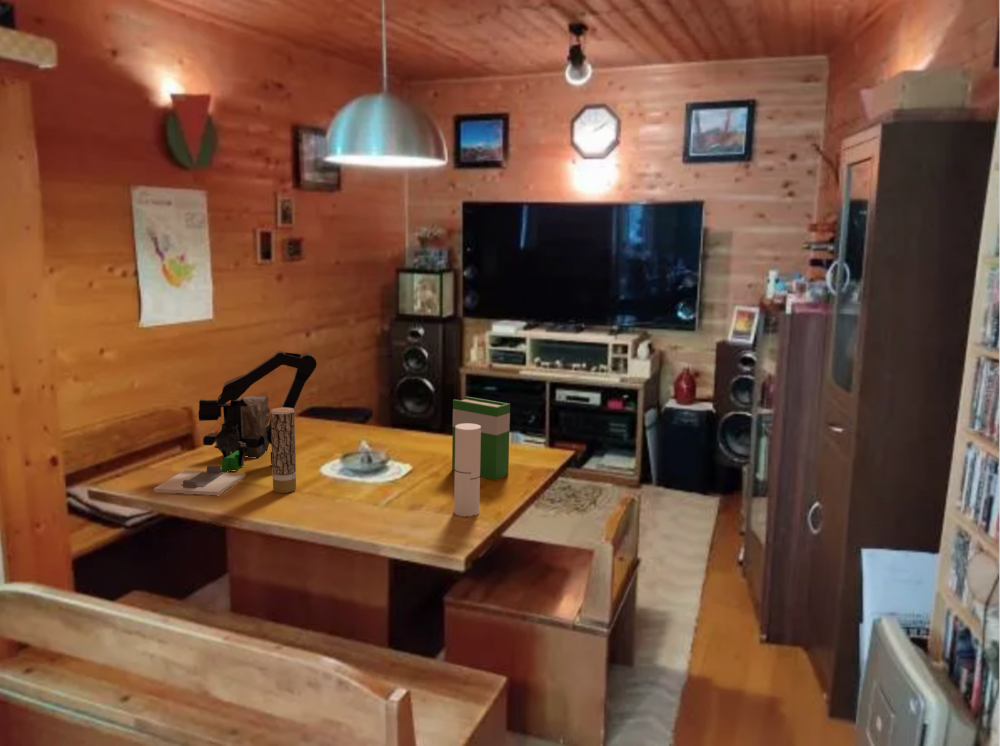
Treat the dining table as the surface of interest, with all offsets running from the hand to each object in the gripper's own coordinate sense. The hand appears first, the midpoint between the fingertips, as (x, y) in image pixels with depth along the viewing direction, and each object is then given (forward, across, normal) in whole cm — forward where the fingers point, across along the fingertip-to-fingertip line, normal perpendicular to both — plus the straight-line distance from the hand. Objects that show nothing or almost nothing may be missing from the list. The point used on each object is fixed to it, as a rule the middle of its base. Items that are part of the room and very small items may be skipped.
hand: (234, 465), depth 250 cm
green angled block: (+1, 0, 0) cm, 1 cm away
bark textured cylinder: (+1, +24, -18) cm, 30 cm away
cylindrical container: (+1, +81, -27) cm, 85 cm away
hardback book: (+1, +80, +10) cm, 81 cm away
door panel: (+1, -3, -17) cm, 17 cm away
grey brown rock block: (+1, -2, +17) cm, 17 cm away
